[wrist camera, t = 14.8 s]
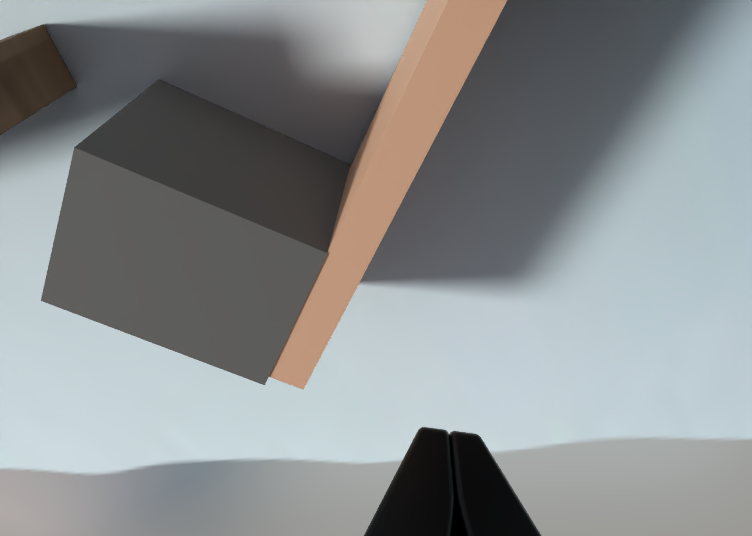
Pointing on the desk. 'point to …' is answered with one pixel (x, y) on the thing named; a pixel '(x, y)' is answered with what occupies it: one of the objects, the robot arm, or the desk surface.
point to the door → (388, 166)
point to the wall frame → (30, 75)
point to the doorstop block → (194, 230)
